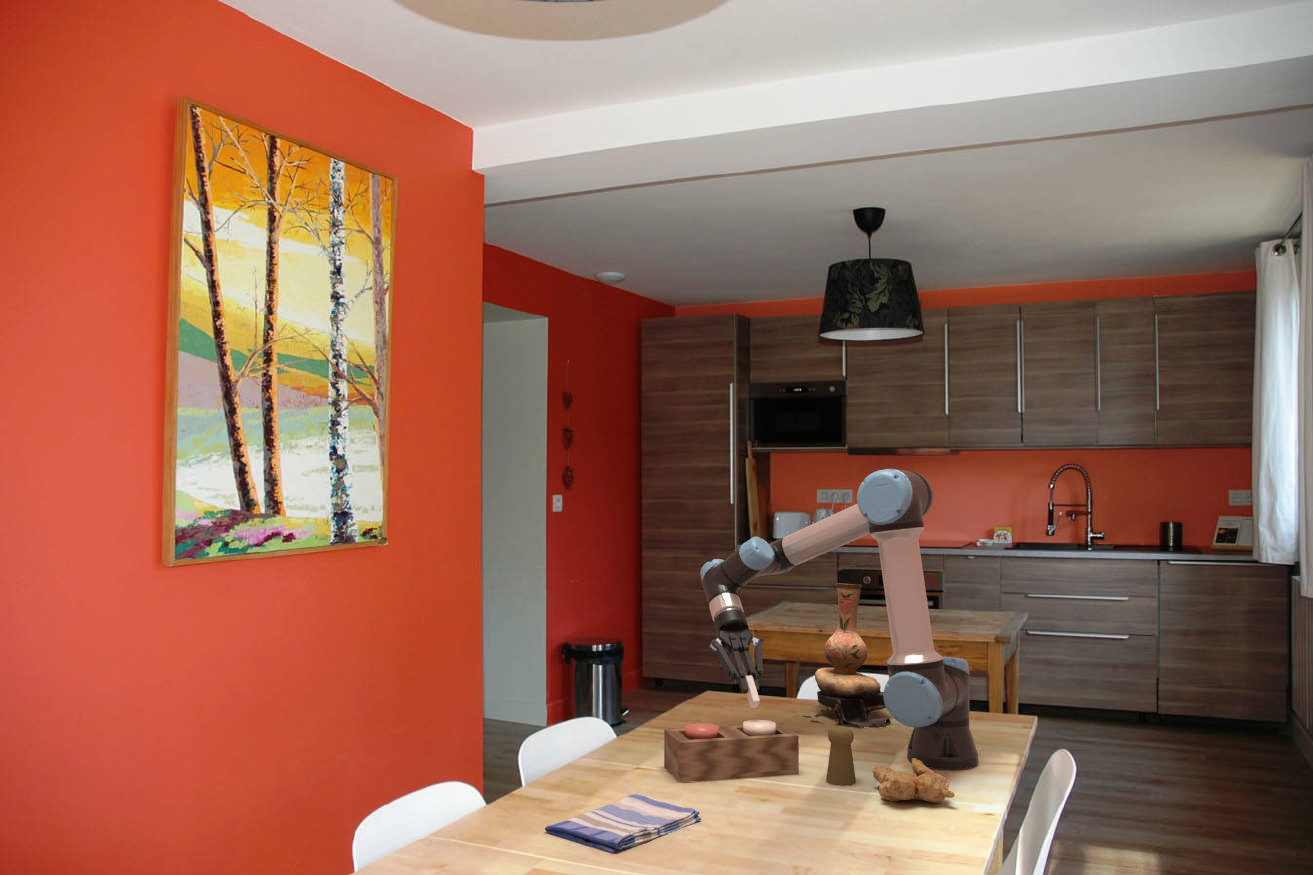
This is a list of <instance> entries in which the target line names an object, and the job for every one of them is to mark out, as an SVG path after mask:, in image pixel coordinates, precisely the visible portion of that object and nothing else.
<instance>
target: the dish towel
mask: <svg viewBox="0 0 1313 875" xmlns="http://www.w3.org/2000/svg"><path fill="white" fill-rule="evenodd" d="M700 814H701V812H700V810H697V809H696V808H693V807H687V806H682V805H680V804H676V803H673V802H670V801H664V800H662V801H661V800H659V799H656V798H653V797H651V796H648V795H645V794H638V793H633V794H629V795H626V796H625V797H623V798H622V799H620V800H617V801H615V802H613V803H610V804H607V805H604V806H602V807H601V806H600V807H598V808H595V809H594V810H591V811H588V812H585V813H581V814H578V815H576V816H573V817H572V818H570V819H569V818H568V819H566V820H563V821H559V822H556V823H552V824H550V825H546V826H545V827H544V830H545V832H546V833H548V834H550V835H553V836H556V837H558V838H562V839H565V840H569V841H571V842H573V843H577V844H579V845H580V844H581V845H583V846H587V847H590V848H593V849H596V850H600V851H603V852H606V853H609V854H611V855H613V853H614V854H615V853H618V852H620V851H625V850H627V849H629V848H632V847H636V846H639V845H642V844H645V843H648V841H651V840H654V839H656V838H659V837H662V836H666V835H669V833H670V834H672V833H674V832H676V831H678V830H681V829H682V828H685V827H688V826H691V825H693V824H695V822H696V823H697V821H698V822H700V821H702V820H703V819H702V817H701V816H699V815H700Z"/></svg>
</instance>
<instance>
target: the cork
mask: <svg viewBox="0 0 1313 875" xmlns="http://www.w3.org/2000/svg"><path fill="white" fill-rule="evenodd" d="M854 736H855V735H854V732H853V730H852V729H851V728H850V727H847V726H842V725H840V726H838V725H836V726H832V727H830V728H829V730H828V732H827V738H828V740H829V742H830V748H829V756H828V764H827V771H826V778H825V779H826V780H825V782H826V783H827V782H828V784H829V783H830V785H834V786H839V785H840V787H843V786H845V787H846V785H849V786H853V784H854V785H855V784H856V783H857V782H856V781H857V780H856V775H855V774H856V772H855V764H854V757H853V750H852V744H853V742H854V739H855V737H854Z"/></svg>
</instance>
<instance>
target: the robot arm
mask: <svg viewBox="0 0 1313 875" xmlns="http://www.w3.org/2000/svg"><path fill="white" fill-rule="evenodd" d="M856 502H857V503H855V504H853V505H851V506H848V507H847V508H845V509H842V510H840V511H838V512H836V513H834V514H831V515H830V516H828V517H825V518H823V519H821V520H818V521H816V522H814V523H812V524H810V525H808V526H805V527H803V528H801V529H798V530H797V531H795V532H792V533H790V534H788V535H786V536H784V537H782V538H778V539H777V540H775V541H772V542H770V543H768V542H767V541H766V539H763V538H761V537H759V536H752V537H751V538H750V539H748V540H747V541H745V542H744V543H742V544H741V545H740V547H739V548H738V549H736V550H734V552H733V553H732V554H730V555H729V556H728V557H727V558H725V560H724V559H721V558H714V559H712V560H711V561H707V562H705V563H704V564H703V566H702V567H701V569H700V573H699V574H700V577H701V586H702V588H703V591H704V594H705V596H706V600H707V602H708V603H707V604H708V607H709V608H708V609H709V611H710V615H711V618H712V621H713V626H714V629H715V632H716V633H715V634H716V636H717V637H716V639H712V640H711V643H710V645H709V650H710V651H711V652H712V653H713V654H715V656H716V658H717V660H718V662H719V664H720V665H721V667H722V668H723V670H724V672H725V674H726V675H727V678H729V680H730V681H734V680H735V681H736V684H737V685H739V687H740V690H741V693H742V694H746V698H747V702H748V705H749V708H750V709H757V708H758V706H759V704H760V696H759V694H758V693H759V691H760V685H759V681H758V680H760V678H761V677H762V675H763V672H764V666H763V645H764V641H765V639H764V638H763V637H759V638H756V637H754V635H753V633H752V632H751V631H750V629H749V624H748V621H747V617H746V614H745V611H744V608H743V605H742V602H741V599H740V595H739V590H741V589H742V588H743V587H745V585H747V584H748V583H749V582H750V581H752V580H753V579H754V578H756V577H762V576H764V577H765V576H769V575H770V576H771V575H782V574H785V573H787V572H790V571H791V570H792V569H793V568H794V567H797V566H798V565H800V564H803V563H805V562H807V561H810V560H812V559H814V558H817V557H819V556H822V555H824V554H826V553H829V552H830V551H833V550H836V549H837V548H840V547H842V546H845V545H847V544H849V543H852V542H853V541H856V540H859V539H861V538H864V537H865V536H867V535H870V537H872V538H873V539H874V540H875V541H877V545H878V552H879V559H880V567H881V573H882V574H881V575H882V582H883V589H884V597H885V605H886V611H887V618H888V626H889V634H890V641H891V642H890V643H891V649H892V654H891V656H890V657H889V659H887V661H886V665H887V672H888V680H887V681H886V683H885V686H884V689H883V692H884V694H883V696H884V702H885V706H886V708H885V709H887V712H888V713H889V714H890V716H891V717H893V719H894V720H896V721H897V722H898V723H899V724H901V725H903V726H906V727H909V728H913V729H912V733H911V736H910V739H909V742H908V745H907V749H906V752H907V753H906V756H907V758H906V759H907V761H909V762H910V763H912V759H913V758H916V759H917V760H920V761H922V763H923V764H924V765H925V766H926V767H927V768H929V769H937V770H948V771H949V770H950V771H951V770H953V771H956V770H957V769H959V770H968V769H973V768H975V767H977V766H978V765H979V754H978V750H977V747H976V744H975V740H974V738H973V734H972V730H971V727H970V676H971V674H970V673H971V672H970V670H969V669H970V668H969V667H970V666H969V663H968V661H967V660H966V659H964V658H961V657H954V656H953V657H952V656H951V657H950V656H945V655H941V654H939V653H938V652H937V651H936V650H935V645H934V640H933V632H932V625H931V619H930V611H929V605H928V604H929V603H928V597H927V591H926V584H925V576H924V569H923V561H922V555H921V547H920V542H919V541H920V540H919V537H920V535H921V533H923V531H924V530H925V524H924V517H925V516H926V515H927V514H928V513H929V511H930V510H931V508H932V506H933V504H934V503H933V502H934V490H933V488H932V484H931V483H930V482H929V480H928V479H927V478H926V477H925V476H923V474H921V473H920V472H917V471H914V470H909V469H906V470H905V469H904V470H903V469H895V468H885V469H880V470H876V471H874V472H872V473H870V474H868V475H867V476H866V477H865V478H864V479H863V481H862V482H861V483H860V485H859V487H858V490H857V495H856ZM751 644H752V647H753V649H754V651H753V659H754V660H753V659H752V656H751V652H750V645H751ZM726 651H727V652H726ZM753 661H754V662H753ZM955 769H956V770H955Z"/></svg>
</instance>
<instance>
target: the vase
mask: <svg viewBox="0 0 1313 875" xmlns="http://www.w3.org/2000/svg"><path fill="white" fill-rule="evenodd" d="M835 585H836V593H837V608H838V609H837V611H838V612H837V614H838V615H837V617H838V618H837V627H836V630H835V632H834V633H833V634H832V635H831V636H830V637H829V638H828V639H827V641H826V642H825V646H824V657H825V659H826V661H827V662H828V664H829V665H830V666H832V667H821V668H818V669H817V670H816V671H815V674H814V679H815V682H816V685H817V687H818V691H817V692H816V694H817V695H816V696H817V702H818V704H819V705H820V706H819V707H818V709H817V713H816V714H815V715H814V718H815V717H816V718H817V717H818V716H819V714H820V711H822V710H824V711H827V710H834V713H835V716H836V719H837V720H838V721H837V722H838V723H836V724H839V725H840V724H841V723H843V724H844V725H850V724H853V725H855V726H857V727H860V728H862V729H865V728H864V727H869V728H870V727H871V726H872V725H874V726H876V727H877V728H879V727H883V728H884V725H885V723H888V722H890V723H891V720H890V718H887V717H885V718H875V719H874V718H873V719H871V718H870V719H869V718H868V717H869V715H870V714H871V713H874V712H875V711H880V710H884V709H887V708H886V706H885V702H884V696H883V694H884V691H881V689H882V688H881V683H879V682H878V680H877V679H876V678H875V677H873V676H869V675H866V674H863V673H860V672H858V671H857V670H858V669H860V668H861V667H862V666H863V665H864V664H865V663H866V662H867V658H868V647H867V645H866V643H865V642H864V640H863V639H862V637H861V636H860V635H859V633H858V629H857V619H858V610H859V602H860V596H861V589H862V586H863V585H862V584H853V583H852V584H850V583H838V582H836V583H835ZM836 707H837V711H836ZM868 712H869V713H868ZM801 717H802V718H803V717H804V718H807V719H808V718H809V719H810V718H812V716H810V715H801ZM885 721H886V722H885ZM810 722H816V723H819V721H818V720H815V719H813V720H810ZM836 724H834V726H837V725H836Z"/></svg>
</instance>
